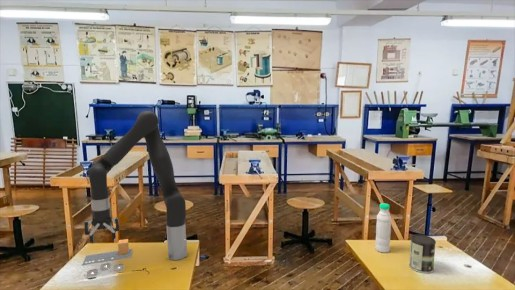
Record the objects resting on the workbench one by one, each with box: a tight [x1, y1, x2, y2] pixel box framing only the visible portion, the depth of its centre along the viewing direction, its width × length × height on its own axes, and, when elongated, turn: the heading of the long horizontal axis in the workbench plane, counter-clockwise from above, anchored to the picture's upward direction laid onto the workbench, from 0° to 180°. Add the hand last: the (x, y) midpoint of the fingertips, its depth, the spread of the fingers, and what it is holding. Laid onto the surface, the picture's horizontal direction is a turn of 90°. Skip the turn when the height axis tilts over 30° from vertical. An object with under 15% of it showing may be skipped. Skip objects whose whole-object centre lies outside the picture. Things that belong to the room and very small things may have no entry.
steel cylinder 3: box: [113, 263, 125, 272], centre depth 145 cm, size 4×4×2 cm
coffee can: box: [408, 234, 437, 274], centre depth 144 cm, size 10×10×14 cm
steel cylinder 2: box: [100, 262, 112, 271], centre depth 146 cm, size 4×4×2 cm
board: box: [81, 248, 133, 266], centre depth 156 cm, size 22×10×1 cm, turn 109°
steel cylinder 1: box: [86, 268, 99, 280], centre depth 141 cm, size 4×4×2 cm
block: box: [117, 238, 130, 255], centre depth 160 cm, size 4×4×6 cm
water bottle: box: [374, 202, 392, 254], centre depth 161 cm, size 7×7×25 cm
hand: (103, 241), depth 144 cm, fingers open, 8 cm apart
